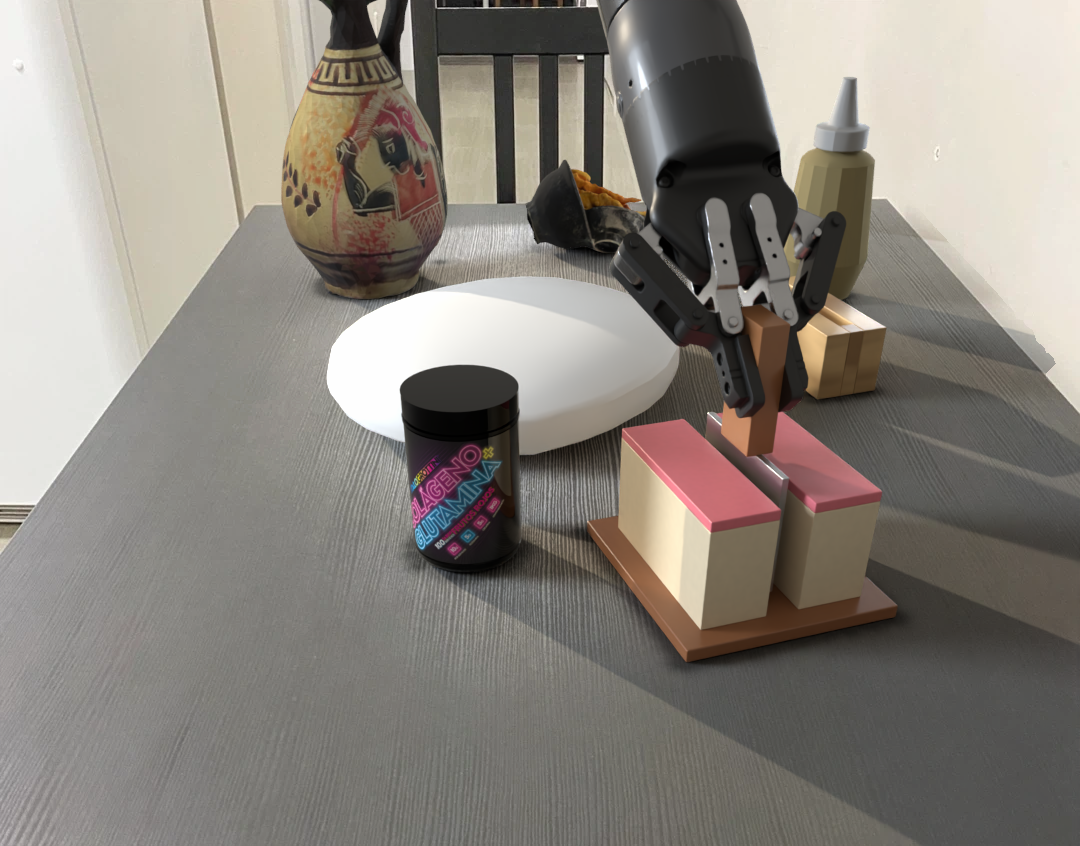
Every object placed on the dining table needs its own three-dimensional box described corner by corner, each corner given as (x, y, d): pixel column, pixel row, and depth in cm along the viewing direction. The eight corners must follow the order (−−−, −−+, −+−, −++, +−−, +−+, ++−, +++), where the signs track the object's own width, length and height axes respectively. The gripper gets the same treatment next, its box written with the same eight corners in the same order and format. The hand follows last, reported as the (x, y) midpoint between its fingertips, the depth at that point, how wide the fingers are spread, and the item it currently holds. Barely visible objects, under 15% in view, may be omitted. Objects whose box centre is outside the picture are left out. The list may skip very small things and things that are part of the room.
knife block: (738, 341, 95) (744, 282, 92) (791, 333, 96) (799, 275, 93) (817, 399, 85) (827, 336, 82) (875, 390, 86) (887, 327, 83)
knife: (688, 520, 68) (709, 290, 59) (711, 516, 68) (735, 287, 59) (756, 594, 61) (791, 347, 52) (781, 589, 61) (820, 343, 53)
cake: (586, 531, 69) (588, 421, 65) (769, 498, 72) (783, 391, 68) (686, 663, 58) (697, 542, 54) (896, 617, 62) (924, 499, 57)
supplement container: (393, 544, 68) (376, 383, 62) (480, 511, 71) (473, 355, 65) (454, 590, 64) (443, 423, 58) (544, 553, 67) (543, 390, 61)
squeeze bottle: (811, 275, 108) (841, 66, 97) (878, 295, 103) (918, 78, 92) (757, 292, 104) (781, 77, 93) (823, 314, 100) (858, 90, 88)
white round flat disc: (561, 441, 68) (245, 364, 79) (566, 527, 73) (266, 443, 84) (739, 271, 85) (457, 226, 96) (734, 350, 90) (466, 299, 100)
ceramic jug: (348, 324, 99) (299, -86, 80) (267, 282, 108) (205, -94, 89) (497, 284, 107) (484, -96, 88) (409, 248, 116) (381, -102, 97)
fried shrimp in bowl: (515, 188, 117) (674, 123, 115) (550, 291, 120) (706, 229, 118) (511, 173, 109) (683, 102, 106) (549, 284, 112) (717, 218, 109)
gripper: (589, 58, 53) (676, 398, 52) (838, 41, 56) (925, 360, 55) (552, 154, 60) (628, 454, 59) (775, 135, 63) (850, 418, 62)
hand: (771, 407), depth 57 cm, fingers closed on knife, 1 cm apart
